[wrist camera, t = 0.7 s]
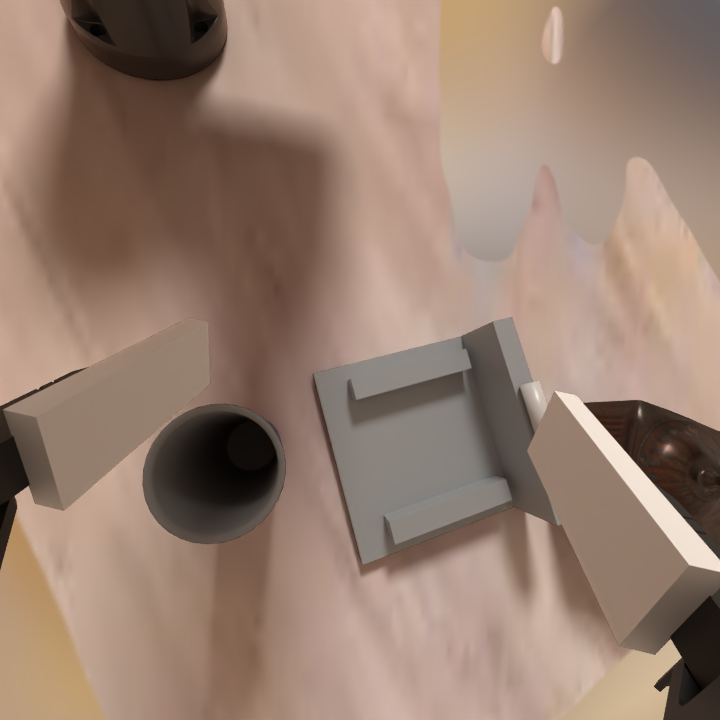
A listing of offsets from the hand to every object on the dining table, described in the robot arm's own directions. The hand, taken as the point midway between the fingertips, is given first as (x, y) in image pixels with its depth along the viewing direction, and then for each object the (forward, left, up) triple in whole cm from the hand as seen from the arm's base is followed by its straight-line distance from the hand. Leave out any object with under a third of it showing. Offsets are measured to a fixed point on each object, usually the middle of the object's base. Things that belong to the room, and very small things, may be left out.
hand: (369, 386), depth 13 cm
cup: (+2, -7, -21) cm, 23 cm away
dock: (+6, +9, -21) cm, 24 cm away
